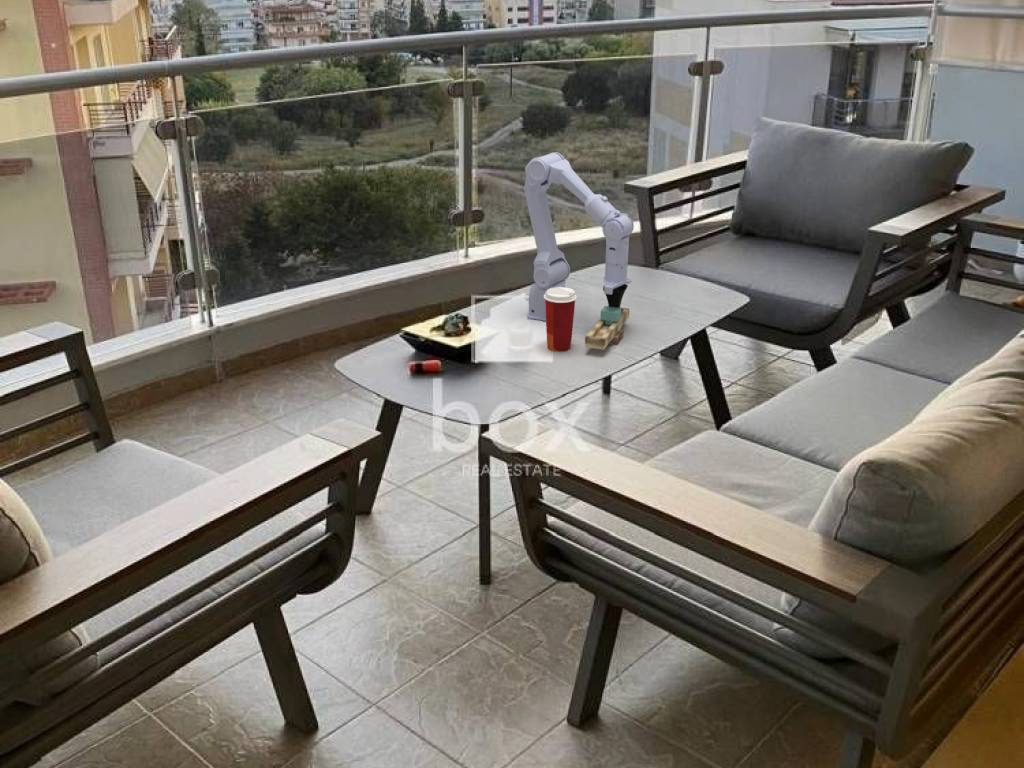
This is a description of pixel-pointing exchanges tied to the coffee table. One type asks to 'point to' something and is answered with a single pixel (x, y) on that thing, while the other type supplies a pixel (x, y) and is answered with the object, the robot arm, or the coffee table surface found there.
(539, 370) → the coffee table surface
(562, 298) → the coffee cup
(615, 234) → the robot arm
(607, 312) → the teal cube
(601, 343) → the tan wooden slatted block
